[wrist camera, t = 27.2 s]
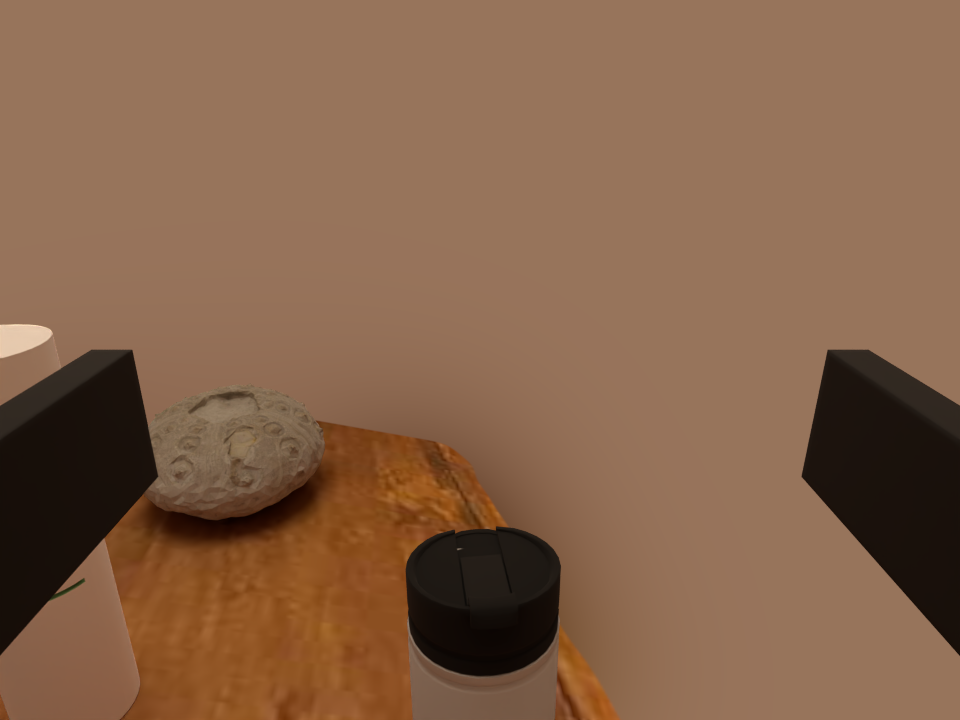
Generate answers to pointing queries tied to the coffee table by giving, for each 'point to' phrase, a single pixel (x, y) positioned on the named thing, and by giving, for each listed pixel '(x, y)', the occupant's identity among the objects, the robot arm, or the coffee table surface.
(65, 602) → the cylindrical container
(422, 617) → the travel mug
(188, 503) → the decorative shell
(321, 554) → the coffee table surface
